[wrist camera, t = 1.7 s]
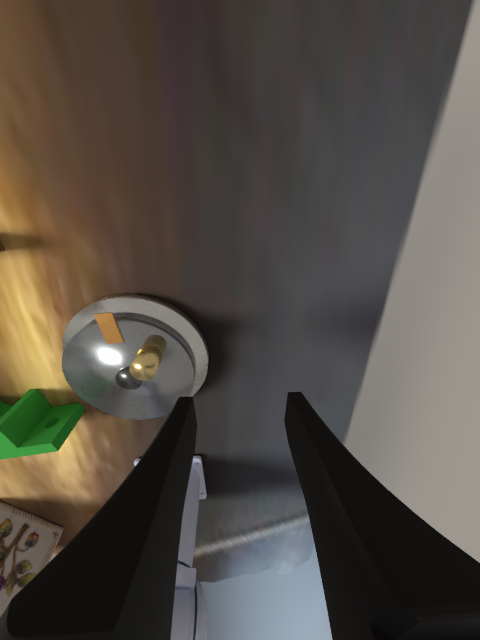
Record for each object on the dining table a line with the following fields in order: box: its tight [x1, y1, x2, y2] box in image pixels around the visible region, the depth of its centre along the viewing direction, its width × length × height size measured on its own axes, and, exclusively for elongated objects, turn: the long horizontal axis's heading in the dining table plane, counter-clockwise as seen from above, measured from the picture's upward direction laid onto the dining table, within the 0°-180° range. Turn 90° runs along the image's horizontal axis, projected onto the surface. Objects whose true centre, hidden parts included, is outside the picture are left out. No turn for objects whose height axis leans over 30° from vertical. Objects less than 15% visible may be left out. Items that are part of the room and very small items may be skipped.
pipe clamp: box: [0, 389, 85, 459], centre depth 21 cm, size 11×4×5 cm, turn 99°
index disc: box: [62, 312, 196, 419], centre depth 18 cm, size 10×10×4 cm
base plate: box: [63, 293, 209, 397], centre depth 20 cm, size 12×12×1 cm
